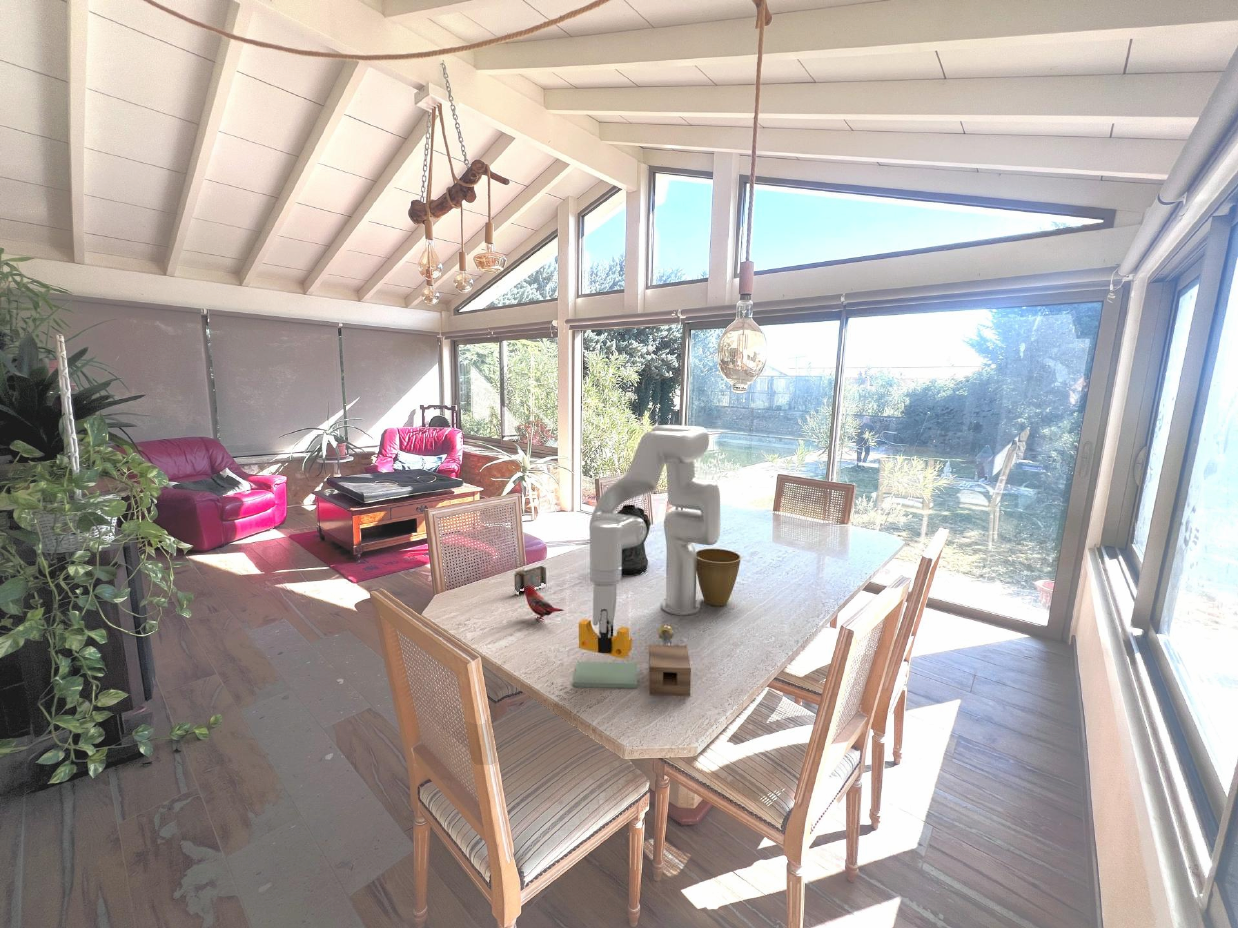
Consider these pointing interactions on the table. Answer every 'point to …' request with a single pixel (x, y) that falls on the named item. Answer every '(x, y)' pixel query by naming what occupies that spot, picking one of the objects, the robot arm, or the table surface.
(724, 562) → the plant pot
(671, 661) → the shaft housing
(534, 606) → the decorative bird figurine
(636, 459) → the robot arm
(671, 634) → the shaft
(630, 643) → the pipe clamp
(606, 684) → the plate
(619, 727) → the table surface
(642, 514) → the beer stein
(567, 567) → the table surface
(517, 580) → the grey upright flat frame
